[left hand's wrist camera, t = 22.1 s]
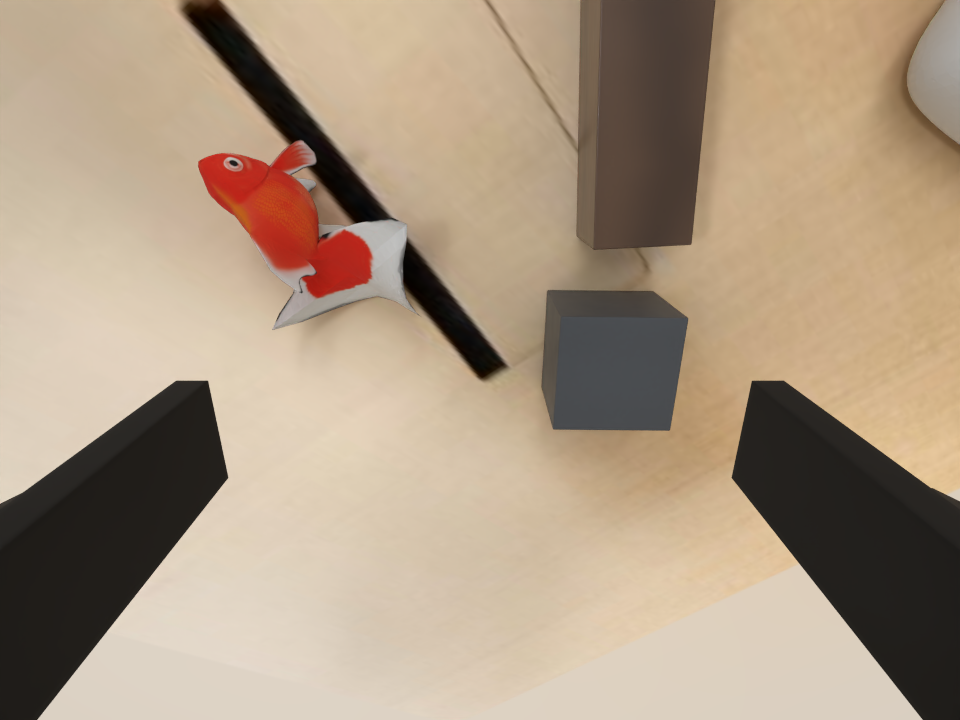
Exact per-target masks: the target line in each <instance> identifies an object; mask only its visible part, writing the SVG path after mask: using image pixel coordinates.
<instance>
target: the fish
mask: <svg viewBox="0 0 960 720" xmlns="http://www.w3.org/2000/svg"><path fill="white" fill-rule="evenodd" d="M198 163H199V164H198V167H199V170H200V173H201V175H202V178H203V180H204V182H205V185H206V187H207V190H208V192H209V194H210V195H211V196H212V198H214V199H215V200H216V201H217V202H218V204H220V205H221V206H222V207H223V208H224V209H226V210H227V211H228V212H230V213H231V214H233V215H235V217H236V218H237V219H238V220H239V222H240V223H241V224H242V226H243V227H244V228H245V230H246V231H247V232H248V233H249V234H250V236H251V238H252V240H253V242H254V243H255V245H256V247H257V248H258V250H259V252H260V253H261V255H262V257H263V258H264V260H265V262H266V263H267V265H268V267H269V269H270V270H271V271H272V272H273V273H274V274H275V275H276V276H277V277H278V278H280V279H281V280H282V281H283V282H285V283H286V284H287V285H289V286H290V287H292V288H293V289H294V292H293V294H292V296H291V297H290V299H289V300H288V302H287V303H286V305H285V306H284V308H283V309H282V311H281V312H280V314H279V316H278V318H277V320H276V322H275V325H274V327H273V329H272V330H274V329H278V328H281V327H285V326H289V325H292V324H296V323H299V322H303V321H305V320H308V319H310V318H313V317H315V316H318V315H321V314H323V313H326V312H328V311H331V310H333V309H336V308H339V307H342V306H344V305H347V304H350V303H353V302H355V301H359V300H363V299H367V298H371V297H376V296H378V297H382V298H386V299H390V300H393V301H396V302H398V303H399V304H401V305H402V306H404V307H406V308H407V309H409V310H410V311H412V312H414V313H416V311H415V310H414V309H413V307H412V306H411V305H410V303H409V302H408V300H407V299H406V295H405V290H404V285H403V258H404V252H405V247H406V234H407V224H405V223H403V222H401V221H398V220H396V219H394V218H387V219H380V220H373V221H367V222H362V223H358V224H353V225H350V226H343V225H324V224H319V222H318V214H317V209H316V206H315V204H314V201H313V199H312V197H311V195H310V194H309V192H310V191H311V190H312V189H313V188H314V187H315V186H316V183H315V181H313V180H308V179H298V178H294V177H292V176H291V175H292V174H294V173H296V172H298V171H299V170H301V169H303V168H305V167H308V166H312V165H315V164H316V163H317V160H316V156H315V153H314V152H313V151H312V150H311V149H310V148H309V147H308V146H307V144H306V143H305V142H304V141H303V140H299V141H296V142H294V143H293V144H292V145H290V146H288V147H287V148H285V149H284V150H283V151H282V152H281V154H280V155H279V156H278V157H277V158H276V159H275V160H274V162H273V163H272V164H271V165H270V166H268V165H267V164H266V163H264V162H262V161H259V160H256V159H252V158H249V157H246V156H242V155H238V154H233V153H221V154H215V155H212V156H209V157H206V158H204V159H202V160H200V161H199V162H198ZM319 238H320V240H319ZM416 314H417V313H416ZM417 315H418V314H417ZM419 316H420V315H419Z"/></svg>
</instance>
